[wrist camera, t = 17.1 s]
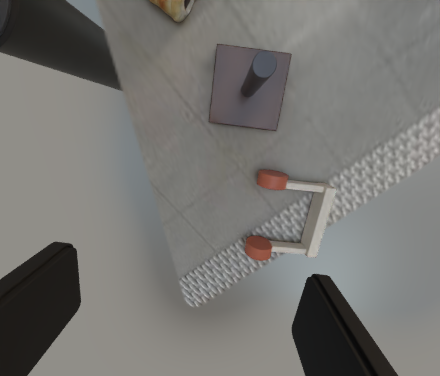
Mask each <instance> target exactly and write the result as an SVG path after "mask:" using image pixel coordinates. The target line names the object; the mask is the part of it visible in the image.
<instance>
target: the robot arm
mask: <svg viewBox="0 0 440 376" xmlns="http://www.w3.org/2000/svg"><path fill="white" fill-rule="evenodd" d="M80 303H81V296H80V284H79V272H78V260H77V251H76V249H75V248H73V245H72V244H69V243H62V242H53V243H51V244H50V245H48V246H47V247H46V248H44V249H43V250H41V251H40V252H38V253H37V254H36V255H34V256H33V257H31V258H30V259H29V260H27V261H26V262H24V263H23V264H21V266H19V267H17V268H16V269H14V270H13V271H12V272H10V273H9V274H7V275H6V276H4V277H3V278H2V279H1V280H0V376H27V375H28V374H29V373H30V371H31V370H32V369H33V367H34V366H35V365H36V364H37V362H38V361H39V360H40V359H41V357H42V356H43V354H44V353H45V352H46V351H47V349H48V348H49V347H50V346H51V344H52V343H53V342H54V340H55V339H56V338H57V337H58V335H59V334H60V333H61V331H62V330H63V329H64V327H65V326H66V325H67V323H68V322H69V321H70V320H71V318H72V317H73V316H74V315H75V313H76V312H77V310H78V308H79V306H80ZM292 335H293V339H294V342H295V345H296V348H297V351H298V354H299V357H300V360H301V363H302V367H303V370H304V373H305V376H398V375H397V373H396V372H395V371H394V369H393V368H392V366H391V365H390V363H389V362H388V360H387V359H386V358H385V356H384V354H383V353H382V352H381V350H380V349H379V347H378V346H377V344H376V343H375V341H374V340H373V339H372V337H371V336H370V334H369V333H368V331H367V330H366V329H365V327H364V326H363V324H362V323H361V321H360V320H359V318H358V317H357V315H356V314H355V312H354V311H353V310H352V308H351V307H350V305H349V304H348V302H347V301H346V299H345V298H344V297H343V295H342V294H341V292H340V291H339V289H338V288H337V286H336V285H335V284H334V282H333V281H332V280H331V278H330V277H329V276H327V275H320V274H313V275H312V276H311V277H308V278H307V280H306V283H305V287H304V290H303V293H302V296H301V299H300V302H299V306H298V309H297V312H296V315H295V318H294V321H293V324H292Z"/></svg>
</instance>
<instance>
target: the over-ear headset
mask: <svg viewBox="0 0 440 376" xmlns="http://www.w3.org/2000/svg"><path fill="white" fill-rule="evenodd" d="M288 177H289V176H288V175H287V174H285V173H283V172H279V171H274V170H259V174H258V179H257V184H258V185H259V186H261V187H264V188H268V189H273V190H284V189H294V190H303V191H312V192H314V194H313V198H312V201H311V205H310V209H309V212H308V216H307V220H306V224H305V227H304V231H303V235H302V238H301V242H300V243H290V242H279V241H269V240H268V239H266V238H264V237H261V236H250V237H248V238H247V240H246V245H245V253H246V254H247V255H248V256H249V257H251V258H253V259H255V260H260V261H263V260H267V259H269V258H270V256H271V252H282V253H294V254H305V255H306V256H307V257H313V258H316V257H317V253H318V250H319V247H320V244H321V240H322V237H323V234H324V230H325V227H326V224H327V220H328V217H329V214H330V211H331V207H332V204H333V201H334V197H335V194H336V191H337V189H336V188H334V187H332V186H330V185H328V184H326V183H320V182H317V183H311V182H302V181H293V180H288Z"/></svg>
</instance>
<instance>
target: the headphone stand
mask: <svg viewBox="0 0 440 376" xmlns="http://www.w3.org/2000/svg"><path fill="white" fill-rule="evenodd" d="M290 59H291V54H290V53H282V52H275V51H267V50H260V49H253V48H245V47H238V46H230V45H223V44H217V50H216V60H215V69H214V79H213V88H212V98H211V108H210V117H209V122H212V123H220V124H227V125H235V126H243V127H250V128H258V129H266V130H273V131H276V130H277V125H278V120H279V115H280V110H281V105H282V100H283V95H284V90H285V85H286V80H287V75H288V70H289V64H290Z"/></svg>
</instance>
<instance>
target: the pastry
mask: <svg viewBox="0 0 440 376" xmlns="http://www.w3.org/2000/svg"><path fill="white" fill-rule="evenodd" d="M149 1H150V2H151V3H153V4H156V5H157V6H159V7H160V8H161V9H162V10H163V11H164V12H165V13H167V14H168V15H170V16H171V17H172V18H173V19H174V21H176V22H181V21H182V20H184V19H185V18H186V16H187V15H188V14H189V12H190V10H191V7H192V5H193V2H194V0H149Z"/></svg>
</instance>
